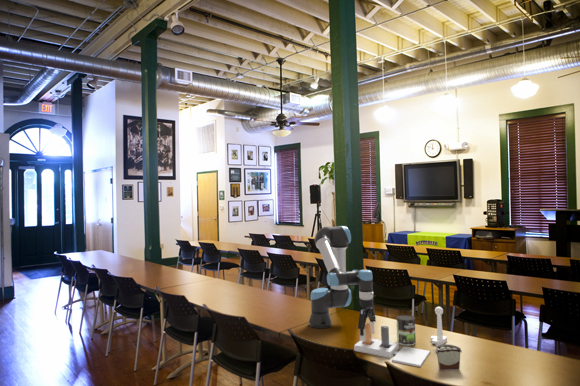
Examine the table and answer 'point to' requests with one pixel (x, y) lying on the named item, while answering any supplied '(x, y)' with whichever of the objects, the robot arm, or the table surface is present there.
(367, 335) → the jaw pin orange
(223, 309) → the table surface
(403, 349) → the lid
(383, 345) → the ball
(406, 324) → the coffee can
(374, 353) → the housing
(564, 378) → the table surface
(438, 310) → the joystick
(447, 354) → the food container
